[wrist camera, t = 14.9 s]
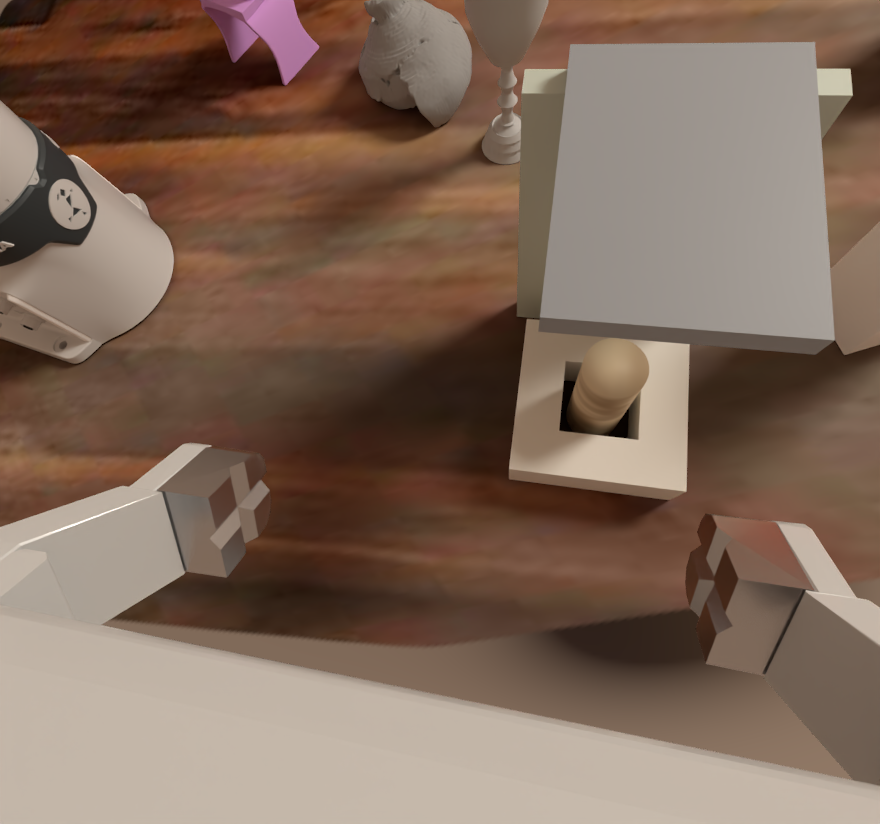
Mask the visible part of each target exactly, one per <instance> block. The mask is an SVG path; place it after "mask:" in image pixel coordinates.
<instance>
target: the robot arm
mask: <svg viewBox="0 0 880 824" xmlns="http://www.w3.org/2000/svg"><path fill="white" fill-rule="evenodd" d="M173 264H174V257H173V250H172V246H171V243H170V241H169V239H168V237H167V235H166V234H165V233H164V231H163V230H162V229H161V228H160V227H159V226H157V225H156V224H155V223H154V222H153V221H152V220H151V218H150V216H149V213H148V210H147V207H146V204H145V203H144V201H143V200H141V199H140V198H139V197H138V196H137V195H135V194H123V193H122V192H120V191H119V190H118V189H117V188H116V187H114V186H113V185H112V184H111V183H110V182H109V181H107V180H106V179H105V178H104V177H103V176H101V175H100V174H99V173H98V172H97V171H95V170H94V169H93V168H92V167H90V166H89V165H88V164H87V163H86V162H84V161H83V160H82V159H80V158H79V157H77V156H74V155H71V156H68V155H66V154H65V153H64V152H63V151H62V150H61V149H60V148H59V146H58V145H57V144H56V143H55V142H54V141H53V140H52V139H51V138H50V137H49V136H48V135H47V134H44V133H43V132H42V131H41V130H39V129H38V128H37V127H36V126H35V125H33V124H32V123H31V122H29V121H28V120H25V119H23V118H21V117H17V116H16V115H15V114H14V113H13V112H12V111H11V110H10V109H9V108H8V107H7V106H6V105H4V104H3V103H2V102H1V101H0V339H3V340H6V341H9V342H12V343H15V344H18V345H20V346H23V347H26V348H29V349H32V350H35V351H38V352H41V353H44V354H46V355H49V356H52V357H55V358H58V359H61V360H64V361H67V362H69V363H73V364H76V363H80V362H82V361H84V360H85V359H87V358H88V357H89V356H90V355H91V354H93V353H94V352H95V351H96V350H97V349H98V348H99V347H100V346H101V345H102V344H103V343H105V342H106V341H108V340H110V339H112V338H114V337H116V336H118V335H120V334H122V333H124V332H126V331H128V330H129V329H131V328H133V327H134V326H135V325H137V324H138V323H139V322H141V321H142V320H143V319H144V318H145V317H146V316H147V315H148V314H149V313H150V312H151V311H152V310H153V309H154V308H155V307H156V305H157V304H158V303H159V301H160V300H161V298H162V297H163V295H164V293H165V291H166V289H167V287H168V285H169V282H170V279H171V276H172V272H173ZM266 472H267V471H266V466H265V461H264V457H262V456H261V455H260V454H259V453H256V452H250V451H243V450H237V449H230V448H224V447H218V446H210V445H204V444H196V443H187V444H183V445H181V446H180V447H179V448H178V449H176V450H175V451H174V452H173V453H171V454H170V455H169V456H168V457H166V458H165V459H164V460H163V461H161V462H160V463H159V464H158V465H156V466H155V467H154V468H152V469H151V470H150V471H149V472H147V473H146V474H145V475H144V476H142V477H141V478H140V479H139V480H137V481H136V482H135V483H134V484H132V485H131V486H130V487H126V486H120V487H117V488H114V489H112V490H109V491H106V492H103V493H100V494H97V495H94V496H91V497H88V498H85V499H82V500H79V501H76V502H73V503H70V504H67V505H65V506H62V507H59V508H56V509H53V510H50V511H47V512H44V513H41V514H38V515H35V516H32V517H29V518H26V519H23V520H20V521H17V522H15V523H12V524H9V525H6V526H3V527H0V824H880V608H879V607H878V606H876V605H875V604H873V603H872V602H870V601H868V600H865V599H859V598H856V596H855V595H854V593H853V592H852V590H851V588H850V587H849V585H848V584H847V582H846V581H845V579H844V578H843V576H842V575H841V573H840V572H839V570H838V569H837V567H836V566H835V564H834V563H833V561H832V559H831V558H830V556H829V555H828V553H827V552H826V550H825V549H824V547H823V546H822V544H821V543H820V541H819V540H818V538H817V537H816V535H815V534H814V532H813V531H812V529H811V528H809V527H808V526H806V525H805V524H798V523H788V522H778V521H763V520H755V519H747V518H739V517H730V516H722V515H714V514H705V515H704V517H703V518H702V520H701V522H700V525H699V528H698V531H697V533H698V536H699V539H700V542H701V546H699V547H698V548H696V549H695V550H693V551H692V552H691V553H690V557H689V560H688V564H687V567H686V580H685V585H686V594H687V599H688V602H689V606H690V608H691V609H692V610H693V611H694V612H695V613H697V615H699V617H700V618H699V621H698V624H697V627H696V632H697V635H698V638H699V642H700V646H701V649H702V652H703V656H704V659H705V663H706V664H710V665H714V666H719V667H725V668H729V669H734V670H739V671H744V672H749V673H753V674H758V675H763V676H764V679H765V680H766V681H767V683H768V684H769V685H770V686H771V687H772V688H773V689H774V691H775V692H776V693H777V694H778V695H779V696H780V697H781V699H783V701H784V702H785V703H786V704H787V705H788V706H789V708H790V709H791V710H792V711H793V712H794V713H795V714H796V715H797V717H798V718H799V719H800V720H801V721H802V722H803V723H804V725H805V726H806V727H807V728H808V729H809V730H810V731H811V732H812V734H813V735H814V736H815V737H816V738H817V739H818V740H819V741H820V743H821V744H822V745H823V746H824V747H825V748H826V749H827V750H828V752H829V753H830V754H831V755H832V756H833V757H834V758H835V760H836V761H837V762H838V763H839V764H840V765H841V766H842V767H843V769H844V770H845V771H846V772H847V773H848V774H849V776H850V777H851V778H852V779H853V780H850V779H845V778H840V777H835V776H831V775H826V774H821V773H816V772H811V771H806V770H801V769H796V768H792V767H787V766H782V765H777V764H772V763H767V762H763V761H758V760H753V759H748V758H743V757H738V756H733V755H728V754H723V753H718V752H714V751H709V750H704V749H699V748H694V747H689V746H684V745H680V744H675V743H670V742H665V741H660V740H655V739H651V738H646V737H641V736H636V735H631V734H626V733H622V732H617V731H612V730H607V729H602V728H598V727H593V726H588V725H583V724H578V723H573V722H568V721H564V720H559V719H554V718H549V717H544V716H539V715H535V714H530V713H525V712H520V711H515V710H511V709H506V708H501V707H496V706H491V705H486V704H482V703H477V702H472V701H467V700H462V699H457V698H452V697H448V696H443V695H438V694H433V693H428V692H423V691H419V690H414V689H409V688H404V687H399V686H394V685H389V684H384V683H379V682H375V681H370V680H365V679H360V678H355V677H350V676H345V675H341V674H336V673H331V672H326V671H321V670H316V669H311V668H307V667H302V666H297V665H292V664H287V663H282V662H278V661H273V660H268V659H263V658H258V657H253V656H248V655H243V654H239V653H234V652H229V651H224V650H219V649H214V648H209V647H205V646H200V645H195V644H190V643H185V642H180V641H176V640H171V639H166V638H161V637H156V636H151V635H147V634H141V633H136V632H132V631H127V630H122V629H117V628H112V627H107V626H103V625H101V624H103V623H105V622H106V621H108V620H110V619H111V618H113V617H115V616H116V615H118V614H120V613H121V612H123V611H124V610H126V609H128V608H129V607H131V606H133V605H134V604H136V603H138V602H139V601H141V600H142V599H144V598H146V597H147V596H149V595H151V594H152V593H154V592H156V591H157V590H159V589H160V588H162V587H164V586H165V585H167V584H169V583H170V582H172V581H174V580H175V579H177V578H178V577H180V576H182V575H183V574H185V571H186V572H193V573H200V574H206V575H213V576H220V577H228V576H229V574H230V573H231V572H232V570H233V569H234V568H235V566H236V565H237V564H238V563H239V561H240V560H241V559H242V557H243V556H244V555H245V553H246V548H245V543H247V542H249V541H251V540H253V539H255V538H257V537H258V536H259V535H260V534H261V532H262V531H263V529H264V528H265V527H266V524H267V521H268V518H269V516H270V513H271V495H270V490H269V489H268V488H267V487H266V485H265V484H264V483H263V482H262V481H261V479H262V478H263V477H264V475H265V474H266Z"/></svg>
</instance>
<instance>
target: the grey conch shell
mask: <svg viewBox="0 0 880 824" xmlns="http://www.w3.org/2000/svg"><path fill="white" fill-rule="evenodd" d="M364 5H365V8H366V11H367V12H368V14H369V15H370V16H372V17H373V18H372V20H371V24H370V26H369V31H368V37H367V39H366V41H365V44H364V46H363V49H362V52H361V56H360V61H359V73H360V75H361V78H362V80H363V83H364V85H365V87H366V90H367V93H368V94H369V95H370V97H371V98H372V99H375V100H376V101H379V102H380V101H381V102H383V103H384V104H385V105H387V106H389V107H391V108H394V109H397V110H400V109H408V108H414V107H415V106H416V105H417V107H418V109H419V111H420V113H421V114H422V115H423V116H424V117H425V118H427V119H428V120H429V122H430V123H431V124H432V125H433V126H434V127H440V125H441V124H444V123H446V122H448V120H449V119H450V118H451V117H452V116H453V114H454V112H455V111H456V110H457V108H458V106H459V104H460V102H461V100H462V98H463V96H464V94H465V91H466V89H467V86H469V83H470V79H471V67H472V65H471V59H472V52H471V46H470V43H469V40H468V38H467V35H466V33H465V31H464V29H463V28H462V26H461V25H460V23H459V22H458V21H457V20H456V19H455V18H454V17H453V16H452V15H451V14H449V13H448V12H445V11H443V10H441V9H438V8H435V7H434V6H432V5H431V4H429V3H427V2H426V1H423V0H371V1H365V2H364Z"/></svg>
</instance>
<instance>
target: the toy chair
mask: <svg viewBox="0 0 880 824" xmlns="http://www.w3.org/2000/svg"><path fill="white" fill-rule="evenodd" d="M200 1H201V3H202V8H203V9H204V11H205V12H206V13H207V14H208V15H209V16H210V17H211V18H212V19H213V20H214V22H215V23H216V24H217V26H218V27H219V29H220V31H221V33H222V35H223V37H224V40H225V42H226V45H227V48H228V51H229V54H230V57H231V60H232V62H234V63H235V62H236V61H237V60H238V59H239V58H240V57H241V56H242V55H243V53H244V52H245V51H246V50H247V49H248V48H249V47H250V46H251V45H252V44H253V43H254V42H255V40H256V39H257V38H258V37H260V38H261V39H262V40H263V41H264V42H265V43H266V44H267V45H268V46H269V48H270V49H271V51H272V53H273V55H274V57H275V59H276V62H277V65H278V68H279V71H280V75H281V79H282V83H283V85H287V84H288V83H289V82H290V80H291V79H292V78H293V77H294V76H295V75H296V74H297V73H298V71H299V70H300V69H301V68H302V67H303V66H304V65H305V63H306V62H307V61H308V60H309V59H310V58H311V57H312V56H313V54H314V53H315V52H316V51H317V50H318V49H319V46H318V45H317V44H316V43H315V42H314V41H313V40H312V38H311V37H310V36H309V35H308V34H307V33H306V31H305V30H304V29H303V27H302V25H301V24H300V22H299V19H298V16H297V13H296V10H295V5H294V1H293V0H200Z"/></svg>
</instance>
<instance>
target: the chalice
mask: <svg viewBox="0 0 880 824" xmlns="http://www.w3.org/2000/svg"><path fill="white" fill-rule="evenodd" d="M464 2H465V13H466V15H467V18H468V21H469V23H470V25H471V28H472V30H473V32H474V34H475V37H476V39H477V41H478V43H479V44H480V46H481V47H482V49H483V51H484V52H485V54H486V55H487V57H488V58H489V60H490V61H491V63H492V64H493V65H495V66H497V67H501V69H502V71H501V76H500V78H499V80H498V86H499V87H500V88H501V90H502V94H501V96H500V97H499V98H498V100H497V103H498V105H499V106H500V107H501V109H502V114H500V115H498V116H497V117H496V118H495V119H494V120H493V121H492V122H491V123H490V125H489V127H488V130H487V132H486V134H485V137H484V139H483V141H482V150H483V153H484V155H485V156H486V157H487V158H488V159H489V160H491V161H493V162H495V163H498V164H513V163H516V162H519V161H520V146H521V116H519V115H517V114H515V113H513V111H512V110H513V106H514V105H515V104H516V103H517V96H516V95H515V94H513V91H512V90H513V87H514V85H515V84H516V82H517V79H516V77H515V76H514V73H513V66H514V65H516V64H518V63H519V62H520V61H521V60H522V59H523V57H524V55H525V53H526V51H527V50H528V48H529V46H530V44H531V42H532V40H533V38H534V36H535V34H536V32H537V30H538V28H539V26H540V23H541V21H542V18H543V16H544V13H545V10H546V8H547V5H548V0H464Z"/></svg>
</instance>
